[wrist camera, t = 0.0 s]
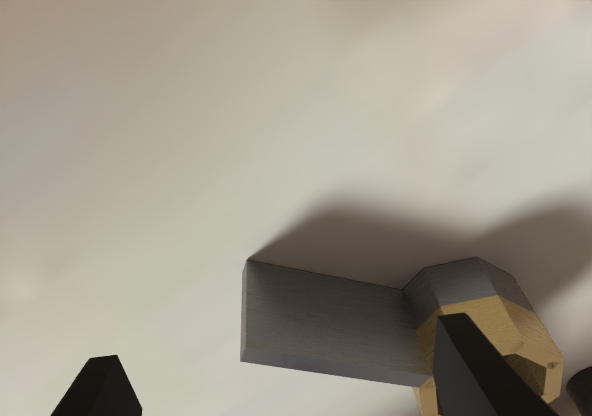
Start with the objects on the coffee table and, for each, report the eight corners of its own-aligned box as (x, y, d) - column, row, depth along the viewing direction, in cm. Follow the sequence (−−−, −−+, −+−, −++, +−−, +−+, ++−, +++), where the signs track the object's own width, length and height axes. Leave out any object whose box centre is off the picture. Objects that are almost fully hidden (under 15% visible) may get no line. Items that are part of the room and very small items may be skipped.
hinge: (506, 414, 32) (544, 498, 27) (310, 451, 32) (318, 537, 28) (516, 202, 22) (576, 281, 18) (238, 261, 23) (234, 349, 19)
